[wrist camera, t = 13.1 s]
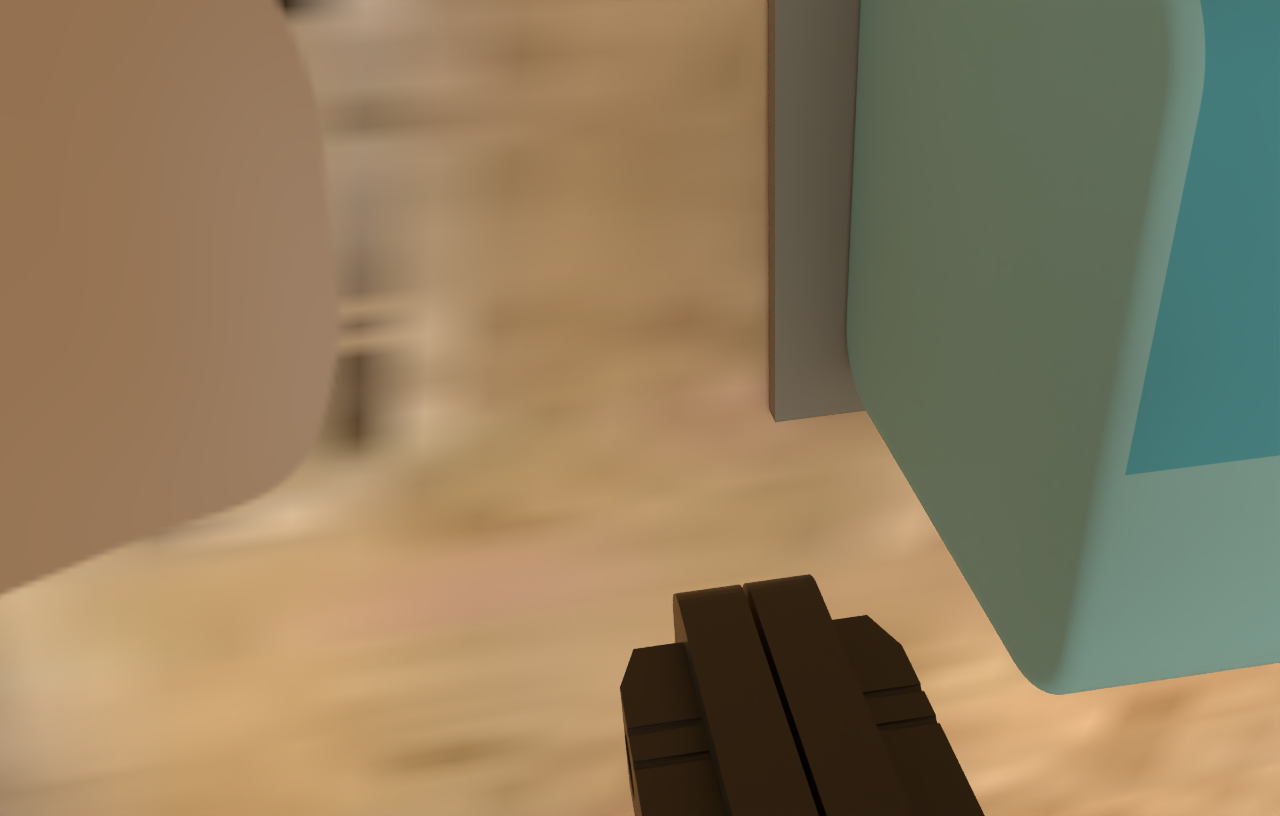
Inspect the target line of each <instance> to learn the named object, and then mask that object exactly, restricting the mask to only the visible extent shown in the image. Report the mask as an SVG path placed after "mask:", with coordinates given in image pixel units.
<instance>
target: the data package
mask: <svg viewBox="0 0 1280 816" xmlns="http://www.w3.org/2000/svg"><path fill="white" fill-rule="evenodd" d="M846 328H847V347H848V355H849V362H850V367H851V372H852V376H853V380H854V384H855V387H856V390H857V393H858V395H859V398H860V400H861V402H862V404H863V406H864V407H865V409H866V411H867V412H868V414H869V416H870V418H871V419H872V421H873V423H874V424H875V426H876V428H877V429H878V431H879V433H880V435H881V436H882V438H883V440H884V441H885V443H886V445H887V446H888V448H889V450H890V452H891V453H892V455H893V457H894V458H895V460H896V462H897V464H898V465H899V467H900V469H901V470H902V472H903V474H904V475H905V477H906V479H907V481H908V482H909V484H910V486H911V487H912V489H913V491H914V492H915V494H916V496H917V498H918V499H919V501H920V503H921V504H922V506H923V508H924V509H925V511H926V513H927V515H928V516H929V518H930V520H931V521H932V523H933V525H934V526H935V528H936V530H937V532H938V533H939V535H940V537H941V538H942V540H943V542H944V543H945V545H946V547H947V549H948V550H949V552H950V554H951V555H952V557H953V559H954V560H955V562H956V564H957V566H958V567H959V569H960V571H961V572H962V574H963V576H964V577H965V579H966V581H967V583H968V584H969V586H970V588H971V589H972V591H973V593H974V594H975V596H976V598H977V600H978V601H979V603H980V605H981V606H982V608H983V610H984V611H985V613H986V615H987V617H988V618H989V620H990V622H991V623H992V625H993V627H994V628H995V630H996V632H997V634H998V635H999V637H1000V639H1001V640H1002V642H1003V644H1004V645H1005V647H1006V649H1007V651H1008V652H1009V654H1010V656H1011V657H1012V659H1013V661H1014V662H1015V664H1016V665H1017V667H1018V669H1019V670H1020V671H1021V672H1022V674H1023V675H1024V676H1025V677H1026V678H1027V679H1028V680H1029V681H1030V682H1031V683H1032V684H1033V685H1035V686H1036V687H1037V688H1039V689H1040V690H1043V691H1045V692H1047V693H1050V694H1056V695H1062V694H1069V693H1076V692H1083V691H1090V690H1097V689H1103V688H1110V687H1117V686H1124V685H1131V684H1138V683H1144V682H1151V681H1158V680H1165V679H1172V678H1179V677H1185V676H1192V675H1199V674H1206V673H1213V672H1220V671H1226V670H1233V669H1240V668H1247V667H1254V666H1261V665H1267V664H1274V663H1280V0H861V7H860V29H859V52H858V74H857V97H856V119H855V142H854V164H853V187H852V209H851V232H850V254H849V277H848V299H847V324H846Z"/></svg>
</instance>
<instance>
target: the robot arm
mask: <svg viewBox="0 0 1280 816" xmlns="http://www.w3.org/2000/svg"><path fill="white" fill-rule="evenodd" d="M673 613H674V629H675V643H673V644H666V645H659V646H652V647H645V648H638V649H634V650H633V652H632V655H631V658H630V661H629V664H628V666H627V669H626V672H625V675H624V678H623V681H622V683H621V686H620V692H621V702H622V712H623V722H624V732H625V742H626V752H627V761H628V771H629V781H630V789H631V795H632V801H633V807H634V813H635V816H985V815H984V813H983V811H982V809H981V807H980V805H979V803H978V801H977V799H976V797H975V795H974V793H973V791H972V789H971V787H970V785H969V782H968V780H967V778H966V776H965V774H964V772H963V770H962V768H961V766H960V764H959V762H958V760H957V758H956V756H955V754H954V752H953V750H952V747H951V745H950V743H949V741H948V739H947V737H946V735H945V733H944V731H943V729H942V727H941V725H940V723H937V721H936V715H935V712H934V710H933V708H932V706H931V704H930V702H929V700H928V698H927V696H926V694H925V692H924V691H922V690H921V685H920V682H919V680H918V677H917V675H916V673H915V671H914V669H913V667H912V665H911V663H910V661H909V659H908V657H907V655H906V653H905V651H904V649H903V647H902V645H901V644H900V643H899V642H897V641H896V640H895V639H894V638H893V637H892V636H890V635H889V634H888V633H887V632H886V631H885V630H884V629H882V628H881V627H880V626H879V625H878V624H877V623H876V622H874V621H873V620H872V619H871V618H870V617H869V616H868V615H863V616H857V617H850V618H843V619H836V620H832V619H831V616H830V614H829V612H828V609H827V607H826V605H825V602H824V600H823V597H822V595H821V593H820V590H819V588H818V586H817V583H816V581H815V580H814V578H813V577H812V576H811V575H809V574H808V575H801V576H794V577H787V578H780V579H773V580H766V581H759V582H752V583H745V584H744V585H743V588H742V587H741V585H733V586H726V587H719V588H712V589H704V590H697V591H690V592H683V593H676V594H674V595H673Z"/></svg>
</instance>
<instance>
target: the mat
mask: <svg viewBox="0 0 1280 816" xmlns="http://www.w3.org/2000/svg"><path fill="white" fill-rule="evenodd" d="M860 7H861V0H768V66H769V358H770V412H771V414H772V416H773V418H774V420H775V422H779V421H787V420H795V419H802V418H810V417H818V416H826V415H834V414H841V413H849V412H857V411H865V410H866V409H865V407H864V406H863V404H862V402H861V400H860V398H859V395H858V393H857V390H856V387H855V384H854V380H853V376H852V372H851V367H850V362H849V355H848V347H847V328H846V324H847V299H848V277H849V254H850V232H851V209H852V187H853V164H854V142H855V119H856V97H857V74H858V52H859V29H860Z"/></svg>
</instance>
